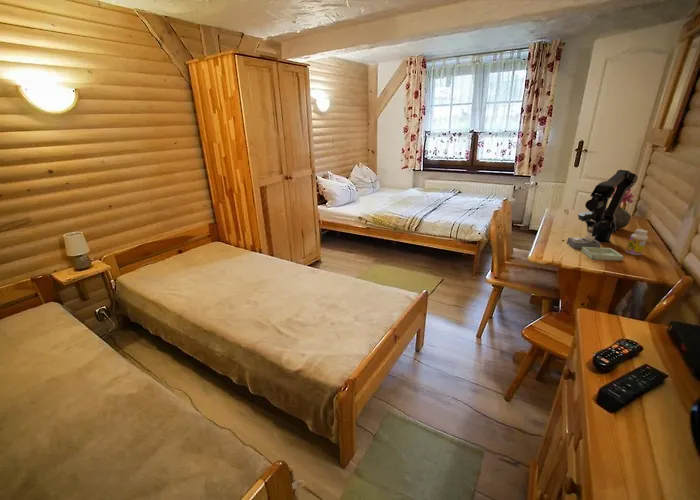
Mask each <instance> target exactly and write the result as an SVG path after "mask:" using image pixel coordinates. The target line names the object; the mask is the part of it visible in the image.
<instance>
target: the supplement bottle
mask: <svg viewBox="0 0 700 500" xmlns="http://www.w3.org/2000/svg"><path fill="white" fill-rule="evenodd" d="M648 232H649V231H648V230H646V229H642V228H636V229H635V232H634V233H632V234H631V235H630V237H629V240H628V242H627V243H628V244H627V247H626V249H625V252H626V253H628V254H629V255H633V256H641V255H642V254H643V251H644V249H645V246H646V244H647V242H648V238H649V237H648V236H647V234H648Z"/></svg>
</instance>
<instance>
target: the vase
mask: <svg viewBox="0 0 700 500" xmlns="http://www.w3.org/2000/svg"><path fill="white" fill-rule="evenodd" d="M616 189H617V186H616V187H615V191H616ZM631 189H632V188H630V189H629V190H627V191H626V193H625V196H624V198H623V200H622V202H621V204H623V203H625V202H627V204H633V203H634V200H632V198H634V195H633V192H631ZM614 193H615V192H614ZM614 193H613V195H614ZM613 195H612V196H611V198H610V199H612V197H613ZM607 208H608V206H606V210H607ZM615 218H616V222H615V223H616V230H619V229H623V228H625V227H626V226H628V224H629V223H630V221H631V214H630V213H629V212H628V211H627V210H626V209H624V208H623V207H621V205H620V206H619V208H618V210H617V212H616V214H615Z"/></svg>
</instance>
